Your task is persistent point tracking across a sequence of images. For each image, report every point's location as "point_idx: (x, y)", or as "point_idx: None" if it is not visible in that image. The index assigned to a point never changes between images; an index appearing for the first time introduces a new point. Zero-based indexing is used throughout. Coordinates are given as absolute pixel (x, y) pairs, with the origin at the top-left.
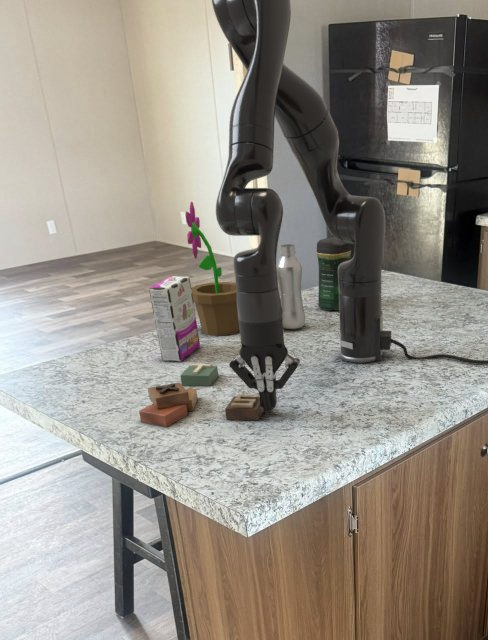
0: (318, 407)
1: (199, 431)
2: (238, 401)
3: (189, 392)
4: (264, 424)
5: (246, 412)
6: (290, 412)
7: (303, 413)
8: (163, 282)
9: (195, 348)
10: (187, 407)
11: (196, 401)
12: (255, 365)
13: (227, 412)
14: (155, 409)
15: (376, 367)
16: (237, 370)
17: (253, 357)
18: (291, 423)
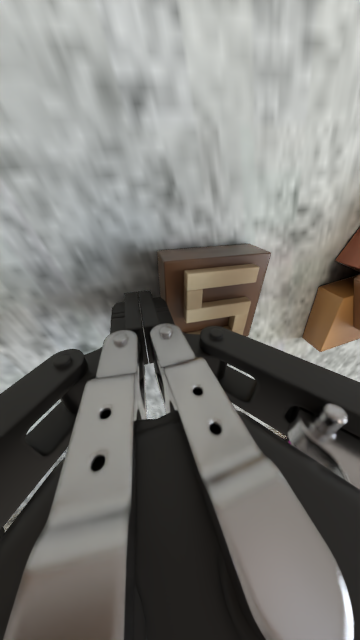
0: (20, 364)
1: (331, 130)
2: (236, 301)
3: (336, 333)
4: (125, 219)
5: (200, 254)
6: (84, 322)
7: (38, 323)
8: None
9: (289, 441)
10: (336, 287)
11: (307, 326)
12: (237, 464)
13: (258, 249)
14: None
15: (31, 497)
16: (327, 383)
17: (326, 623)
18: (25, 240)
